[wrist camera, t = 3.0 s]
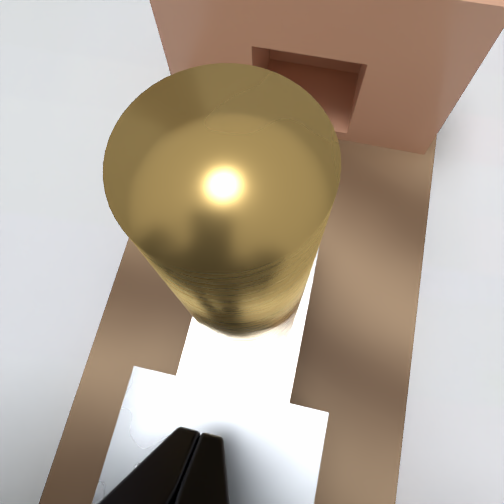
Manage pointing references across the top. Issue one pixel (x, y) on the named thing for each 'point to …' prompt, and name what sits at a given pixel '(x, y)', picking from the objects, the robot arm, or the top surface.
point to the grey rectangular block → (229, 428)
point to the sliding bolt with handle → (229, 212)
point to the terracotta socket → (346, 55)
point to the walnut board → (312, 343)
